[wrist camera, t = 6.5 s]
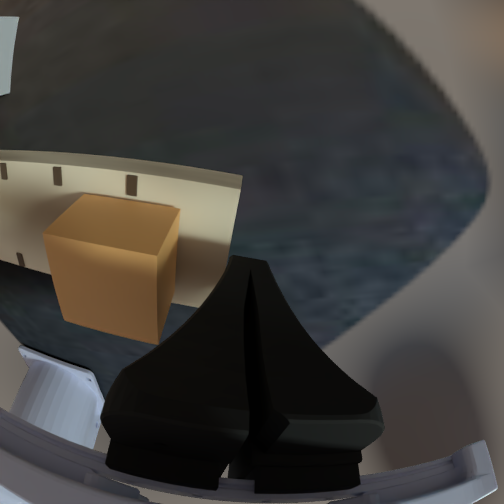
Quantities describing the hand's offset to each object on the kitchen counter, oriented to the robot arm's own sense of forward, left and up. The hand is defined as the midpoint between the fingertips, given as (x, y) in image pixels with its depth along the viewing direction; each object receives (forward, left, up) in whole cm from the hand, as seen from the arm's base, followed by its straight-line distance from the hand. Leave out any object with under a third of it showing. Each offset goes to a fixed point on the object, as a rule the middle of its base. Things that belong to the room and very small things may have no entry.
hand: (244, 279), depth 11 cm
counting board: (0, +11, -3) cm, 11 cm away
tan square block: (0, +5, -1) cm, 5 cm away
